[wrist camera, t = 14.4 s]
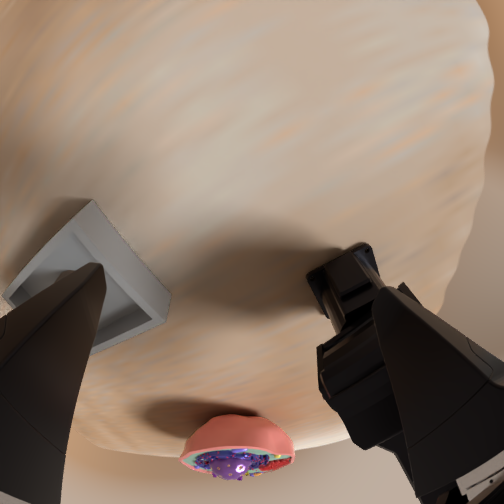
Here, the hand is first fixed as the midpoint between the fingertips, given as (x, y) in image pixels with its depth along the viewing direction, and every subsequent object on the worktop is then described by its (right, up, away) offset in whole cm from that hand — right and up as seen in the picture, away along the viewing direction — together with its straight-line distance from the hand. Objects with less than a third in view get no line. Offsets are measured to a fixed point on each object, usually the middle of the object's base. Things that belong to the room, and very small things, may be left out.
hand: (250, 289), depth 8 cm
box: (-16, -2, +15) cm, 22 cm away
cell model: (-2, -27, +32) cm, 42 cm away
